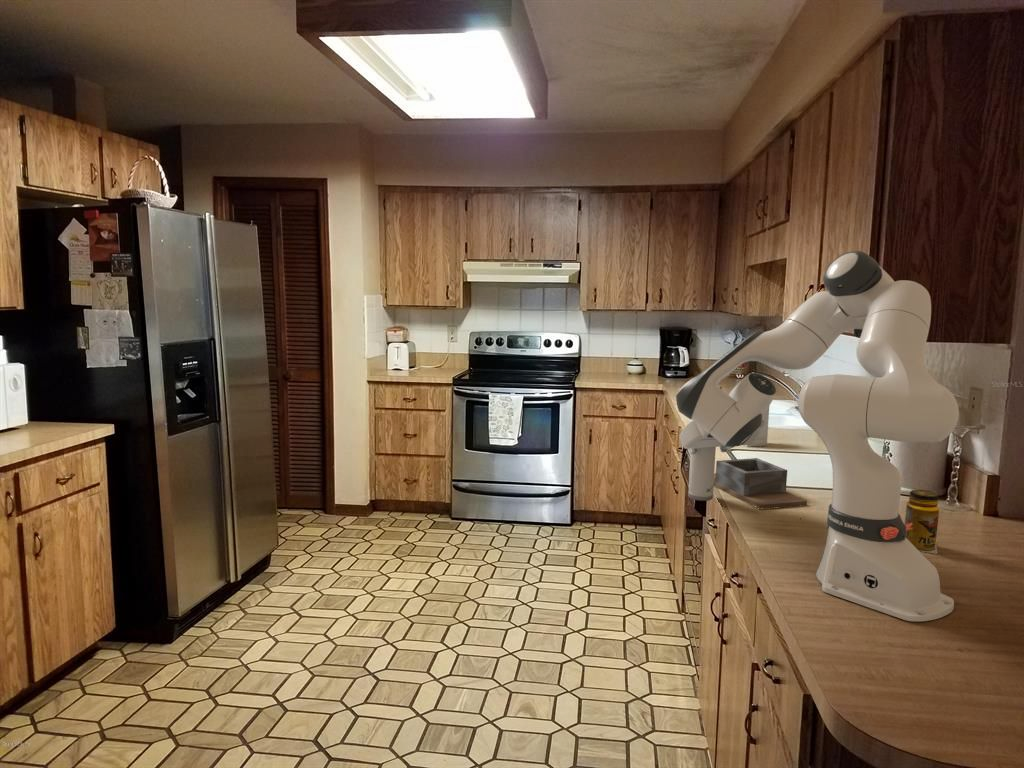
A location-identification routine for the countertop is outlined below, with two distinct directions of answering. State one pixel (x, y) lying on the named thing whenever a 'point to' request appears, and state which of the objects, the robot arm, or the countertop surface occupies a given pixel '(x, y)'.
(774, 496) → the grey box on board
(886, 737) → the countertop surface
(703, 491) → the travel mug
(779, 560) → the countertop surface
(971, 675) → the countertop surface
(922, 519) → the condiment
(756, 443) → the skincare box
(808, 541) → the countertop surface
